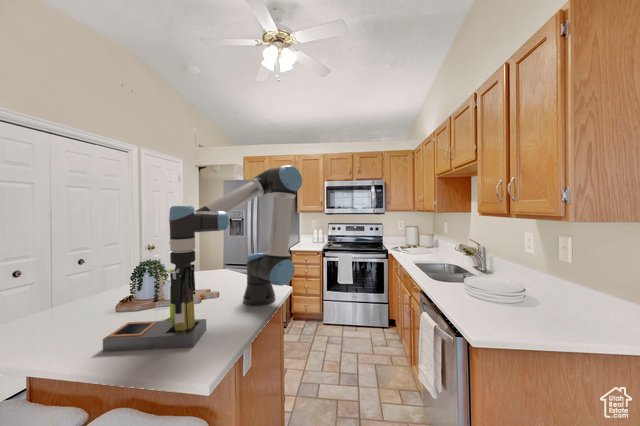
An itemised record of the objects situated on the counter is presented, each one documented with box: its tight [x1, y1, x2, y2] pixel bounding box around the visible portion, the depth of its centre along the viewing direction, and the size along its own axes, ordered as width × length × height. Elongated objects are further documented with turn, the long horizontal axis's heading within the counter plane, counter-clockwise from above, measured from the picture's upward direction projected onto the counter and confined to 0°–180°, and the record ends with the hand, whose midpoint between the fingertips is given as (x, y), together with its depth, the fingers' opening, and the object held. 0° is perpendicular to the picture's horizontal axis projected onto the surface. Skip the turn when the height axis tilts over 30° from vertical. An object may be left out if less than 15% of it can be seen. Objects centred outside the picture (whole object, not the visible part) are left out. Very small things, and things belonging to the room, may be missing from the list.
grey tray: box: [102, 318, 207, 353], centre depth 87 cm, size 27×12×4 cm, turn 95°
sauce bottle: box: [173, 274, 196, 333], centre depth 88 cm, size 6×6×20 cm
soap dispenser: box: [167, 268, 175, 321], centre depth 105 cm, size 6×7×20 cm
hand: (184, 317), depth 88 cm, fingers closed on sauce bottle, 6 cm apart
